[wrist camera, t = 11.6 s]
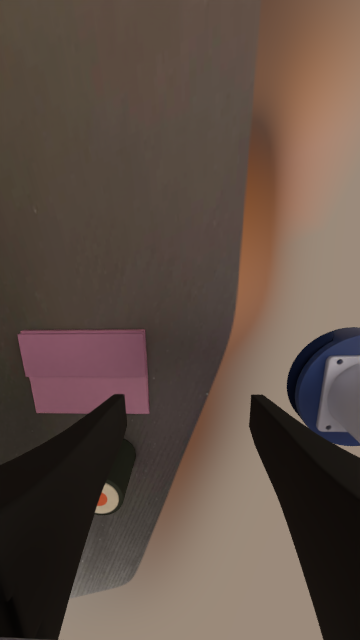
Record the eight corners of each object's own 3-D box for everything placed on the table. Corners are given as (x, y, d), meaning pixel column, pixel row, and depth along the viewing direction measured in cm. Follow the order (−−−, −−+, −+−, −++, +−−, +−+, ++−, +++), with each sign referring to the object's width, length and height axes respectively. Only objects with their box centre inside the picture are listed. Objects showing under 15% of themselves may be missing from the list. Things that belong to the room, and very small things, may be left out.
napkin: (145, 329, 19) (143, 331, 18) (149, 410, 21) (148, 416, 20) (24, 329, 19) (16, 332, 18) (39, 410, 21) (33, 415, 20)
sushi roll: (134, 437, 21) (120, 480, 17) (137, 469, 22) (124, 518, 18) (95, 436, 22) (70, 479, 17) (99, 468, 23) (77, 517, 18)
